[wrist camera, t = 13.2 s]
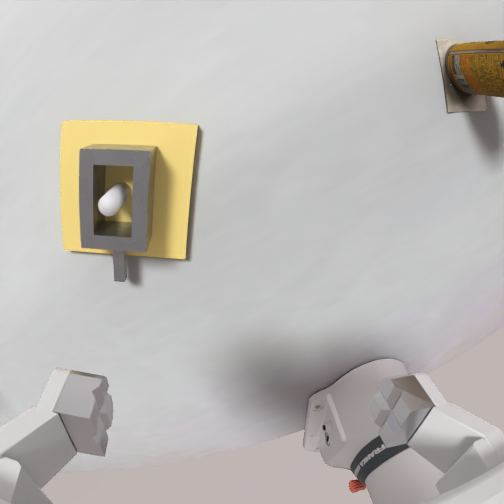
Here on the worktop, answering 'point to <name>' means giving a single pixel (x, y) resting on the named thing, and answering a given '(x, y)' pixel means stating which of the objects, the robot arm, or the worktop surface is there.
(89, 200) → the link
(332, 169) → the worktop surface
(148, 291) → the worktop surface
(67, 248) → the keeper
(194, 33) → the worktop surface
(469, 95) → the condiment
